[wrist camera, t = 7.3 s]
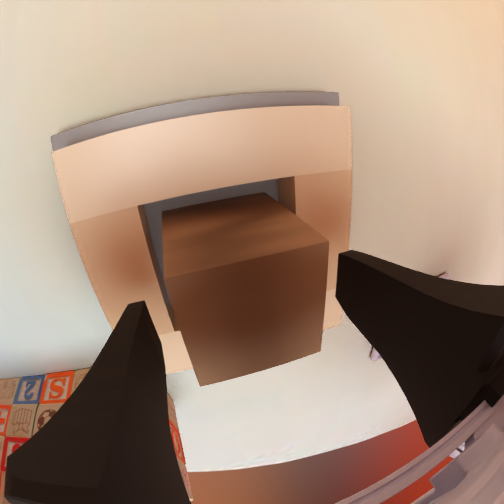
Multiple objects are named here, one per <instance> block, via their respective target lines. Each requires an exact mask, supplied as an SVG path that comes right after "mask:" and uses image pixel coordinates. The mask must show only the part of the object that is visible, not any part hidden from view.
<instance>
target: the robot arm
mask: <svg viewBox="0 0 504 504" xmlns="http://www.w3.org/2000/svg"><path fill="white" fill-rule="evenodd" d="M449 277H450V276H449V274H447V273H445V274H443V275H441V276H439V277H435V276H432V275H428V274H425V273H421V272H418V271H415V270H412V269H409V268H406V267H403V266H400V265H397V264H394V263H391V262H388V261H386V260H383V259H380V258H377V257H374V256H371V255H368V254H365V253H361V252H358V251H354V250H350V251H346V252H342V253H338V267H337V281H336V292H335V297H336V299H337V301H338V302H339V304H340V306H341V307H342V309H343V310H344V312H345V313H346V315H347V316H348V318H349V319H350V320H351V321H352V322H353V324H354V325H355V326H356V327H357V328H358V330H359V331H360V332H361V333H362V334H363V335H364V337H365V338H366V339H367V340H368V341H369V342H370V344H371V345H372V346H373V351H372V354H371V358H370V359H371V360H372V361H376V360H378V359H380V358H383V360H384V361H385V362H386V364H387V366H388V367H389V369H390V370H391V372H392V373H393V375H394V377H395V378H396V380H397V382H398V383H399V385H400V387H401V389H402V391H403V392H404V394H405V396H406V398H407V400H408V402H409V404H410V406H411V408H412V410H413V412H414V414H415V417H416V419H417V422H418V424H419V427H420V429H421V432H422V434H423V437H424V440H425V442H426V444H427V445H428V446H429V447H430V448H429V449H428V450H426V451H425V452H424V453H422V454H421V455H420V456H418V457H417V458H415V459H414V460H413V461H411V462H409V463H408V464H406V465H405V466H403V467H402V468H400V469H399V470H397V471H395V472H394V473H392V474H391V475H389V476H387V477H386V478H384V479H382V480H380V481H379V482H377V483H375V484H373V485H372V486H370V487H368V488H366V489H364V490H362V491H360V492H358V493H356V494H354V495H352V496H350V497H348V498H346V499H344V500H342V501H340V502H337V503H335V504H380V503H382V502H383V501H385V500H387V499H388V498H390V497H392V496H393V495H395V494H397V493H398V492H400V491H401V490H403V489H404V488H406V487H407V486H409V485H410V484H412V483H413V482H415V481H416V480H417V479H419V478H420V477H422V476H423V475H425V474H426V473H427V472H429V471H430V470H431V469H433V468H434V467H435V466H436V465H438V464H439V463H440V462H441V461H443V460H444V459H445V458H446V457H447V456H450V457H452V458H454V459H453V460H452V461H451V462H450V463H448V464H447V465H446V466H445V467H443V468H442V469H441V470H440V471H439V472H437V473H436V474H435V475H434V476H433V477H431V478H430V482H431V483H432V485H433V486H434V488H433V489H431V490H430V491H428V492H427V493H426V494H424V495H423V496H421V497H420V498H419V499H417V500H416V501H414V502H413V503H411V504H504V286H495V285H480V284H472V283H465V282H458V281H453V280H449ZM4 497H5V499H6V500H7V501H8V502H9V503H10V504H191V502H190V499H189V496H188V493H187V490H186V487H185V484H184V481H183V478H182V475H181V471H180V468H179V464H178V461H177V457H176V453H175V449H174V445H173V440H172V436H171V431H170V424H169V414H168V401H167V385H166V368H165V361H164V355H163V349H162V343H161V341H160V338H159V336H158V333H157V331H156V328H155V326H154V323H153V321H152V318H151V316H150V313H149V310H148V308H147V305H146V302H145V300H143V301H139V302H134V303H130V304H128V305H127V307H126V308H125V310H124V312H123V314H122V315H121V317H120V319H119V321H118V323H117V324H116V326H115V328H114V330H113V332H112V333H111V335H110V337H109V339H108V340H107V342H106V344H105V346H104V347H103V349H102V351H101V352H100V354H99V355H98V357H97V359H96V360H95V362H94V364H93V365H92V367H91V368H90V370H89V371H88V373H87V374H86V376H85V377H84V378H83V380H82V381H81V383H80V384H79V385H78V387H77V388H76V389H75V391H74V392H73V393H72V394H71V396H70V397H69V398H68V399H67V400H66V401H65V403H64V404H63V405H62V406H61V407H60V408H59V410H58V411H57V412H56V413H55V414H54V415H53V416H52V417H51V418H50V419H49V421H48V422H47V423H46V424H45V425H44V426H43V427H42V428H41V429H39V430H38V431H37V432H36V433H35V434H34V435H33V436H32V437H31V438H30V439H29V440H27V441H26V442H25V443H24V444H23V445H21V446H20V447H19V448H18V449H16V450H15V451H14V452H13V453H12V454H10V455H9V456H7V463H6V472H5V485H4Z"/></svg>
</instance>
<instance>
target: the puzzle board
mask: <svg viewBox="0 0 504 504" xmlns="http://www.w3.org/2000/svg"><path fill="white" fill-rule="evenodd" d="M51 142H52V147H53V152H52V157H53V162H54V167H55V171H56V176H57V180H58V184H59V188H60V192H61V196H62V199H63V203H64V207H65V210H66V214H67V217H68V220H69V223H70V227H71V230H72V233H73V236H74V239H75V242H76V245H77V247H78V250H79V253H80V256H81V258H82V261H83V264H84V266H85V269H86V272H87V274H88V277H89V279H90V281H91V284H92V286H93V289H94V291H95V293H96V296H97V298H98V300H99V302H100V305H101V307H102V309H103V311H104V313H105V315H106V318H107V320H108V322H109V324H110V326H111V328H112V330H114V328H115V326H116V324H117V323H118V321H119V319H120V317H121V315H122V314H123V312H124V310H125V308H126V307H127V305H128V304H130V303H134V302H139V301H143V300H145V302H146V305H147V308H148V310H149V313H150V316H151V318H152V321H153V323H154V326H155V328H156V331H157V333H158V336H159V338H160V341H161V343H162V349H163V355H164V361H165V368H166V374H169V373H174V372H178V371H183V370H187V369H192V368H193V366H192V363H191V360H190V358H189V355H188V352H187V349H186V346H185V343H184V341H183V338H182V335H181V332H180V329H179V326H178V322H177V319H176V316H175V313H174V310H173V307H172V303H171V300H170V297H169V293H168V290H167V287H166V283H165V280H164V267H163V244H162V211H166V210H171V209H175V208H180V207H185V206H190V205H195V204H200V203H205V202H211V201H216V200H221V199H227V198H232V197H238V196H244V195H250V194H256V193H262V192H265V193H267V194H268V195H269V196H271V197H272V198H273V199H275V200H276V201H278V202H279V203H280V204H282V205H283V206H284V207H286V208H287V209H288V210H290V211H291V212H292V213H294V214H295V215H296V216H298V217H299V218H300V219H301V220H303V221H304V222H305V223H307V224H308V225H309V226H311V227H312V228H313V229H314V230H316V231H317V232H318V233H320V234H321V235H322V236H323V237H325V238H326V239H327V240H328V241H329V257H328V274H327V288H326V301H325V312H324V322H323V330H325V329H328V328H331V327H334V326H336V325H339V324H341V317H342V310H343V309H342V307H341V306H340V304H339V302H338V301H337V299H336V297H335V292H336V281H337V267H338V253H342V252H346V251H349V237H350V219H351V192H352V136H351V110H350V106H339V94H338V93H336V92H264V93H247V94H235V95H225V96H216V97H208V98H200V99H193V100H187V101H181V102H175V103H169V104H164V105H159V106H154V107H149V108H144V109H140V110H136V111H131V112H127V113H123V114H119V115H116V116H112V117H108V118H105V119H101V120H98V121H95V122H91V123H88V124H85V125H82V126H79V127H76V128H73V129H70V130H67V131H64V132H61V133H59V134H56V135H53V136H51Z"/></svg>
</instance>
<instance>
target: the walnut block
mask: <svg viewBox="0 0 504 504" xmlns="http://www.w3.org/2000/svg"><path fill="white" fill-rule="evenodd" d="M162 244H163V267H164V280H165V283H166V287H167V290H168V293H169V297H170V300H171V303H172V307H173V310H174V313H175V316H176V319H177V322H178V326H179V329H180V332H181V335H182V338H183V341H184V343H185V346H186V349H187V352H188V355H189V358H190V360H191V363H192V366H193V369H194V371H195V374H196V377H197V379H198V382H199V385H200V386H205V385H209V384H213V383H217V382H221V381H225V380H229V379H233V378H237V377H241V376H244V375H248V374H251V373H255V372H258V371H262V370H265V369H268V368H272V367H275V366H278V365H281V364H284V363H288V362H291V361H294V360H297V359H300V358H302V357H305V356H308V355H311V354H314V353H317V352H319V351H320V350H321V341H322V332H323V322H324V312H325V301H326V288H327V274H328V257H329V241H328V240H327V239H326V238H325V237H323V236H322V235H321V234H320V233H318V232H317V231H316V230H314V229H313V228H312V227H311V226H309V225H308V224H307V223H305V222H304V221H303V220H301V219H300V218H299V217H298V216H296V215H295V214H294V213H292V212H291V211H290V210H288V209H287V208H286V207H284V206H283V205H282V204H280V203H279V202H278V201H276V200H275V199H273V198H272V197H271V196H269V195H268V194H267V193H265V192H262V193H256V194H250V195H244V196H238V197H232V198H227V199H221V200H216V201H211V202H205V203H200V204H195V205H190V206H185V207H180V208H175V209H171V210H166V211H162Z"/></svg>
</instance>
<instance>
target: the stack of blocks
mask: <svg viewBox="0 0 504 504" xmlns="http://www.w3.org/2000/svg"><path fill="white" fill-rule="evenodd" d="M89 370H90V368H86V369H80V370H77V371H66V372H58V373H50V374H46V375H38V376H28V377H22V378H8V379H0V504H10V503H9V502H8V501H7V500H6V499H5V497H4V485H5V472H6V463H7V456H9V455H10V454H12V453H13V452H14V451H15V450H16V449H18V448H19V447H20V446H21V445H23V444H24V443H25V442H26V441H27V440H29V439H30V438H31V437H32V436H33V435H34V434H35V433H36V432H37V431H38V430H39V429H41V428H42V427H43V426H44V425H45V424H46V423H47V422H48V421H49V419H50V418H51V417H52V416H53V415H54V414H55V413H56V412H57V411H58V410H59V408H60V407H61V406H62V405H63V404H64V403H65V401H66V400H67V399H68V398H69V397H70V396H71V394H72V393H73V392H74V391H75V389H76V388H77V387H78V385H79V384H80V383H81V381H82V380H83V378H84V377H85V376H86V374H87V373H88V371H89ZM167 401H168V414H169V424H170V431H171V436H172V440H173V445H174V449H175V453H176V457H177V461H178V464H179V468H180V471H181V475H182V478H183V481H184V484H185V487H186V490H187V493H188V496H189V499H190V501H192V500H193V496H192V492H191V488H190V483H189V479H188V474H187V470H186V466H185V464H186V463H185V457H184V452H183V447H182V442H181V438H180V433H179V428H178V423H177V418H176V412H175V406H174V402H173V401H172V400H171V398H170V396H169V395H168V393H167Z"/></svg>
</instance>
